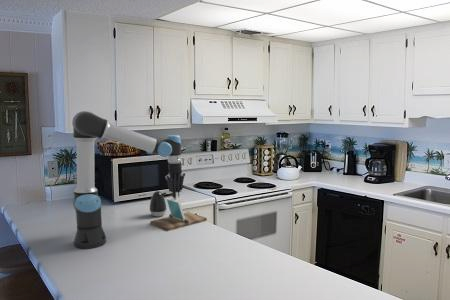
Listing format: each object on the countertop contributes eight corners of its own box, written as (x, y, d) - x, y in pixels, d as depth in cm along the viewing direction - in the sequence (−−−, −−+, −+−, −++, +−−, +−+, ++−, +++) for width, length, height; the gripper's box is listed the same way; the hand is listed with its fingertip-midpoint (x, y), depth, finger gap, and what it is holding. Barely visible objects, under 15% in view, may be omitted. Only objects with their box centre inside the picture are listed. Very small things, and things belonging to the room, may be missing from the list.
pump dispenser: (165, 217, 238) (164, 193, 236) (148, 217, 238) (147, 193, 236) (168, 213, 248) (167, 189, 246) (151, 213, 248) (150, 189, 246)
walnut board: (168, 230, 213) (167, 225, 213) (150, 223, 226) (150, 218, 226) (206, 220, 231) (206, 215, 231) (188, 214, 244) (188, 209, 244)
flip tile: (185, 219, 224) (184, 220, 224) (173, 215, 233) (171, 216, 232) (180, 201, 221) (178, 202, 220) (167, 197, 229) (166, 198, 229)
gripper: (168, 164, 216) (170, 206, 219) (187, 161, 225) (189, 202, 228) (161, 163, 222) (162, 204, 225) (180, 160, 230) (181, 199, 233)
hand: (176, 203), depth 226 cm, fingers closed
